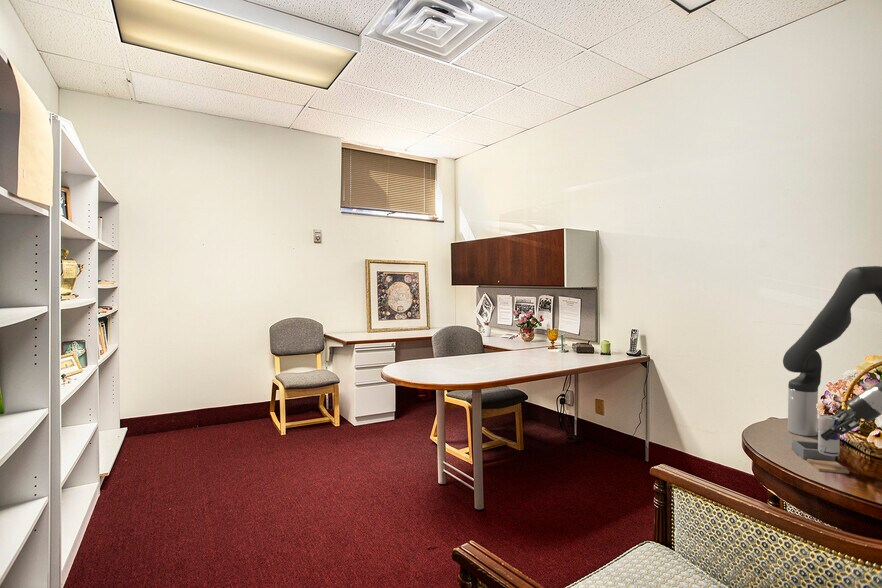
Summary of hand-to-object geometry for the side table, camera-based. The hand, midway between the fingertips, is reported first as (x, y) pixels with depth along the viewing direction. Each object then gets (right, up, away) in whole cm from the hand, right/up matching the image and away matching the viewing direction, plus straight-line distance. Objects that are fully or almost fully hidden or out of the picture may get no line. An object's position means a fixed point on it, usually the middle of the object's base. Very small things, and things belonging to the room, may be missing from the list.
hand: (821, 435), depth 151 cm
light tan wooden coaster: (+2, -10, 0) cm, 10 cm away
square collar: (+4, -10, +9) cm, 14 cm away
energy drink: (+2, -6, -1) cm, 6 cm away
